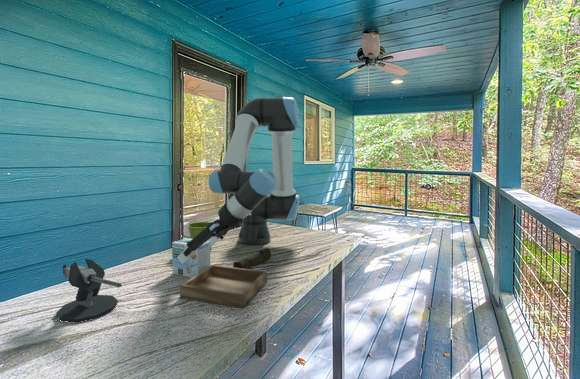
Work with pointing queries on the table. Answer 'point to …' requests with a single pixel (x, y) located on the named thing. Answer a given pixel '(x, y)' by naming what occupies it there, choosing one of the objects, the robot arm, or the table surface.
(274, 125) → the robot arm
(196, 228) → the plant pot
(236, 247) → the table surface
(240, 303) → the walnut tray
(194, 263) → the light bulb box
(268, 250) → the rusty artillery shell
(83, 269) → the gun turret
